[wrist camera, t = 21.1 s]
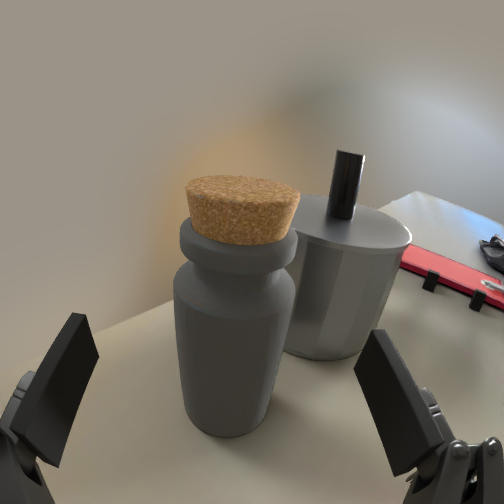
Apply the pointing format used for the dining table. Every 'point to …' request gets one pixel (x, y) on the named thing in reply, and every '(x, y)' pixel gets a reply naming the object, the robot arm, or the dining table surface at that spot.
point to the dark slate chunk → (494, 252)
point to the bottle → (233, 298)
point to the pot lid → (348, 215)
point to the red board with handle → (454, 276)
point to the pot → (336, 299)
